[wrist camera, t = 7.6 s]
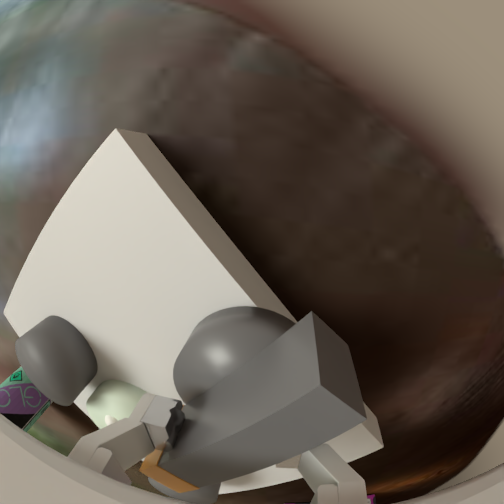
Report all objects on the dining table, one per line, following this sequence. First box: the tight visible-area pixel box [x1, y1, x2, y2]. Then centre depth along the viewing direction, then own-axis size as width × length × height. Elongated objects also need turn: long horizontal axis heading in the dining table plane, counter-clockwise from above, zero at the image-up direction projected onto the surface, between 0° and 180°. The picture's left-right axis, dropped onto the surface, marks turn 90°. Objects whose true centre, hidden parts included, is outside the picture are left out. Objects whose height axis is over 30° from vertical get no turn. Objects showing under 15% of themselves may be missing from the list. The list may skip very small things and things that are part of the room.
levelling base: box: [4, 128, 384, 504], centre depth 15 cm, size 24×18×6 cm
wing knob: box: [139, 306, 367, 493], centre depth 10 cm, size 9×6×6 cm, turn 137°
